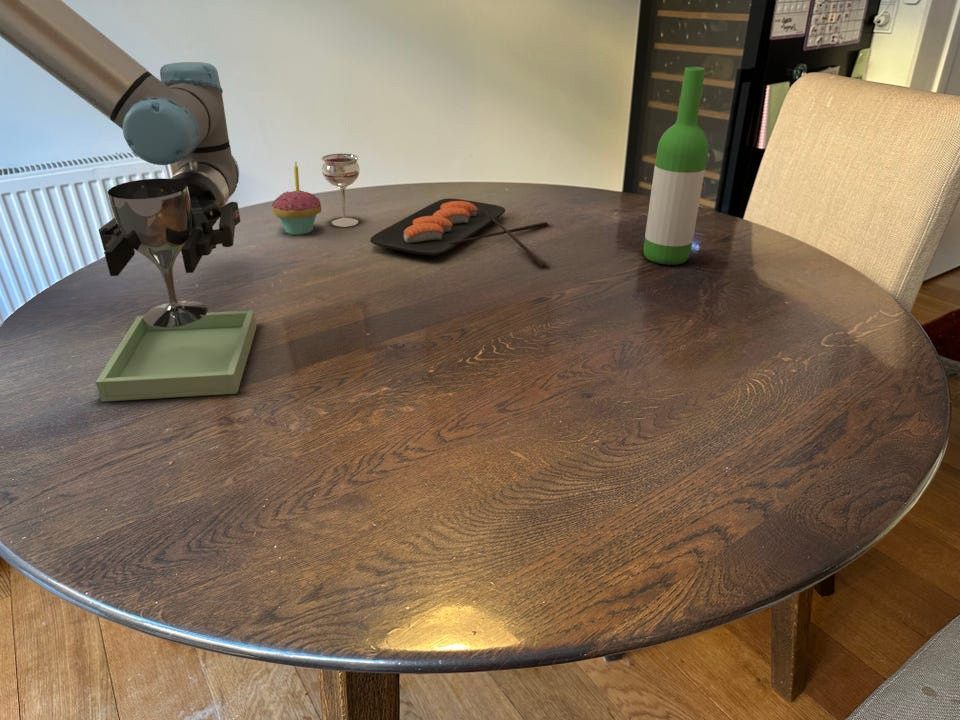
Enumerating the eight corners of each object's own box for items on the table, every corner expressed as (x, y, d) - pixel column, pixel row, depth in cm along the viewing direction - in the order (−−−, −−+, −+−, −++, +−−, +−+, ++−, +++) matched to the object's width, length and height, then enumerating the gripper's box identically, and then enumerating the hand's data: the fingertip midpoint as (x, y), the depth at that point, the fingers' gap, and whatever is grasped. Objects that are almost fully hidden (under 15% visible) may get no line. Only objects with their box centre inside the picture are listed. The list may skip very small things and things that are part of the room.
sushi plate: (445, 205, 142) (444, 187, 140) (586, 229, 131) (588, 209, 129) (363, 251, 119) (361, 229, 117) (526, 284, 108) (527, 261, 106)
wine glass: (226, 310, 84) (203, 186, 76) (167, 335, 78) (136, 203, 71) (183, 294, 88) (158, 174, 80) (125, 317, 82) (91, 190, 74)
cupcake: (283, 222, 131) (275, 157, 125) (328, 223, 131) (322, 158, 125) (269, 238, 124) (260, 170, 118) (317, 239, 124) (310, 171, 118)
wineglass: (339, 230, 128) (333, 164, 122) (319, 221, 132) (313, 157, 126) (370, 223, 132) (366, 158, 126) (350, 214, 136) (345, 151, 130)
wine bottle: (639, 263, 116) (665, 69, 101) (645, 247, 123) (670, 63, 108) (687, 269, 114) (721, 72, 99) (690, 253, 121) (723, 66, 106)
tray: (101, 401, 78) (95, 382, 77) (142, 333, 92) (137, 315, 91) (237, 393, 80) (233, 374, 78) (256, 327, 94) (253, 310, 93)
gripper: (108, 172, 91) (38, 232, 71) (266, 168, 93) (240, 225, 74) (122, 228, 95) (59, 299, 75) (274, 223, 97) (251, 290, 77)
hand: (149, 262), depth 74 cm, fingers closed on wine glass, 7 cm apart
